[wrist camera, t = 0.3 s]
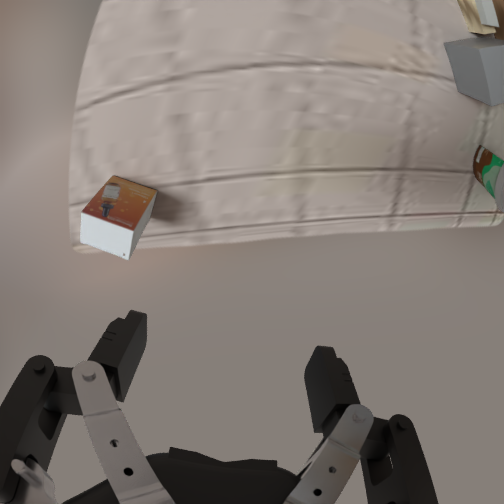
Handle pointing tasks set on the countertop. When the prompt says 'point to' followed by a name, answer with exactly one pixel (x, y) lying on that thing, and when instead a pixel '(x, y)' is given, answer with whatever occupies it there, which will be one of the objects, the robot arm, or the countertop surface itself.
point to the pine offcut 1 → (466, 16)
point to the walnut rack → (499, 18)
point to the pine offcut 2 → (477, 18)
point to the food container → (490, 174)
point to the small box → (117, 216)
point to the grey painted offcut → (487, 12)
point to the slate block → (478, 68)
